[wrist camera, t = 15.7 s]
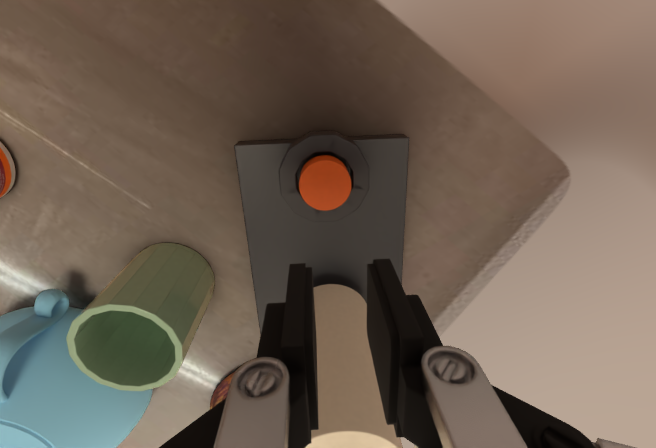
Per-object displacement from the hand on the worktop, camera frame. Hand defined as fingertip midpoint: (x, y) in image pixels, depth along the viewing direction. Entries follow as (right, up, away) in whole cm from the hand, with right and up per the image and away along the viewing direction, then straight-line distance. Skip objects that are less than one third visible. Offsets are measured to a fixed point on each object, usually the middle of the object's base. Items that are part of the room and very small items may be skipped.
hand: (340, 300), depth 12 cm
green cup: (-14, -2, +20) cm, 25 cm away
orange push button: (-1, +6, +14) cm, 15 cm away
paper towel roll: (0, -5, +18) cm, 19 cm away
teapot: (-27, -10, +23) cm, 37 cm away
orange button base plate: (-1, +1, +19) cm, 19 cm away
